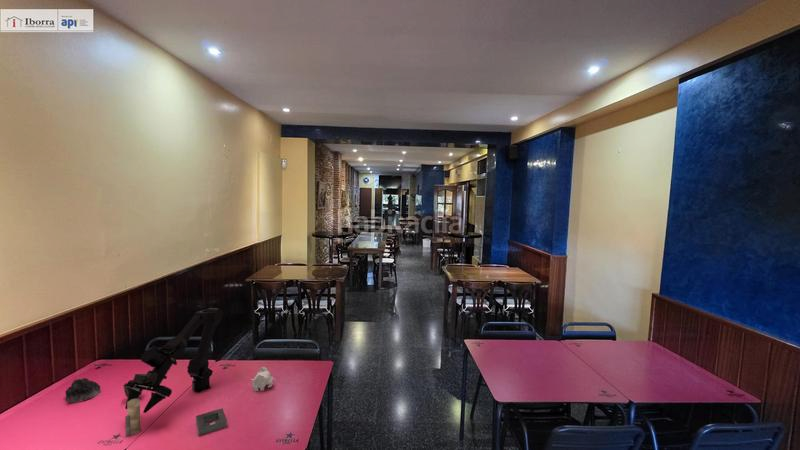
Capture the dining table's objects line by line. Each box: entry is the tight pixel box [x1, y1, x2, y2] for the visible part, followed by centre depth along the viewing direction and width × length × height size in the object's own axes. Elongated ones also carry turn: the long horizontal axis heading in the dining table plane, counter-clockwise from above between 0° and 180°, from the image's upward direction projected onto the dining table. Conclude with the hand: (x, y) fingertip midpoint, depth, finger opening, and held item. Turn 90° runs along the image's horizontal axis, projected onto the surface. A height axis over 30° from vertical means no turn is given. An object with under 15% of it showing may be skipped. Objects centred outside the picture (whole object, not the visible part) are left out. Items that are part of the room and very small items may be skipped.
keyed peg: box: [124, 398, 142, 437], centre depth 139 cm, size 5×4×12 cm
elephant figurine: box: [250, 366, 276, 392], centre depth 173 cm, size 10×12×9 cm
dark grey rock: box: [65, 377, 102, 403], centre depth 164 cm, size 13×14×10 cm
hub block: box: [195, 407, 228, 437], centre depth 144 cm, size 10×10×3 cm
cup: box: [123, 383, 143, 399], centre depth 161 cm, size 8×7×8 cm
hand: (135, 410), depth 139 cm, fingers open, 9 cm apart
